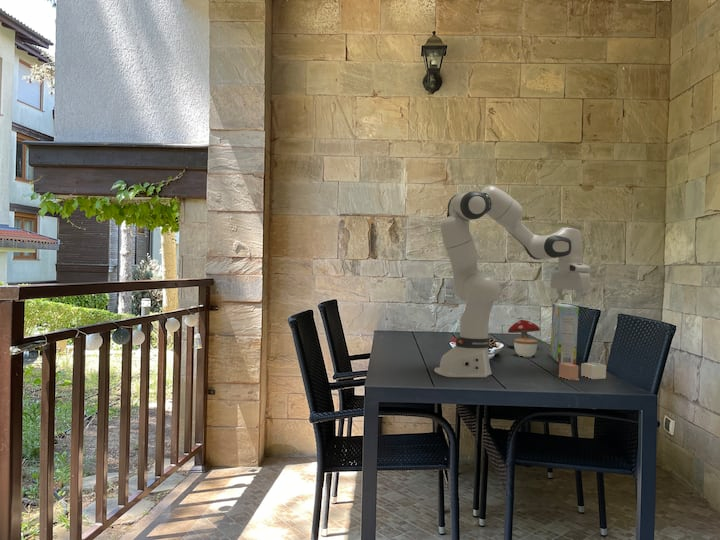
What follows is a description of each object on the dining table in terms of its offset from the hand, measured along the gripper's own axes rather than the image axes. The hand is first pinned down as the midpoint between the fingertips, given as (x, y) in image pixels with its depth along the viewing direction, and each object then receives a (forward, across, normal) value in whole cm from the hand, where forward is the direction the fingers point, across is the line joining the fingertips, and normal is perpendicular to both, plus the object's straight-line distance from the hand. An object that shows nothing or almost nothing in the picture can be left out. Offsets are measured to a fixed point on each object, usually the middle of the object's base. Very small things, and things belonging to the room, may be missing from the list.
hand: (568, 300), depth 211 cm
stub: (+29, +11, -8) cm, 32 cm away
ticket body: (+29, +11, +4) cm, 31 cm away
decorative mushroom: (+29, -56, +17) cm, 66 cm away
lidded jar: (+29, -35, +4) cm, 46 cm away
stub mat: (+29, +11, -8) cm, 32 cm away
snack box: (+29, -23, +16) cm, 41 cm away
